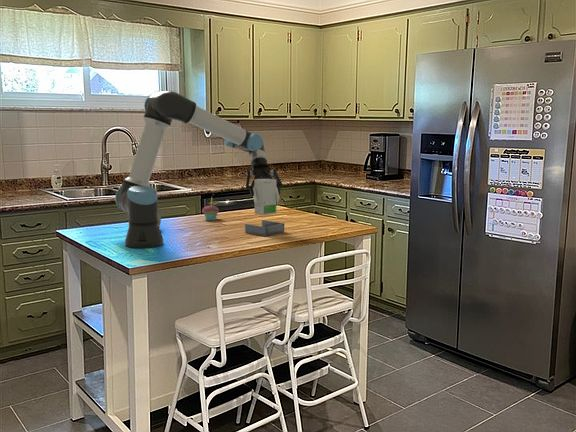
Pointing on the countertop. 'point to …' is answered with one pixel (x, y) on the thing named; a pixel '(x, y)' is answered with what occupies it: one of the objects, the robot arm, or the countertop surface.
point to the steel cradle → (265, 228)
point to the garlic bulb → (159, 220)
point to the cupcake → (210, 212)
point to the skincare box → (265, 196)
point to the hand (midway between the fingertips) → (267, 200)
